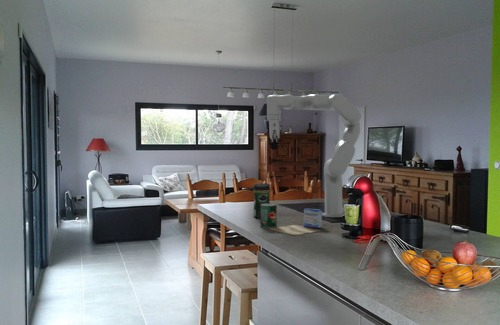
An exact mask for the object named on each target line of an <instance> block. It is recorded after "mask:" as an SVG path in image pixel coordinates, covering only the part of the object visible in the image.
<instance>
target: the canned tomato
mask: <svg viewBox="0 0 500 325" xmlns="http://www.w3.org/2000/svg"><path fill="white" fill-rule="evenodd" d="M277 209H278V208H277V203H273V202H271V203H264V204H261V218H260V228H263V229H270V228H277V227H278V226H277V225H278V221H277V220H278V218H277V216H278V215H277Z"/></svg>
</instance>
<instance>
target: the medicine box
mask: <svg viewBox="0 0 500 325" xmlns="http://www.w3.org/2000/svg"><path fill="white" fill-rule="evenodd" d="M322 213H323V209H319V208H318V209H316V208H304V209H303V221H302V223H303V225H302V226H303V227H307V228H313V229H319V228H322V219H323V216H322Z"/></svg>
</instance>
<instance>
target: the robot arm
mask: <svg viewBox="0 0 500 325" xmlns="http://www.w3.org/2000/svg"><path fill="white" fill-rule="evenodd" d="M281 108H282V109H284V110H289V111H290V110H295V111H297V110H299V111H301V110H303V111H305V110H306V111H336V112H337V113H338V115H340V116H341V120H342V122H343V124H344V130H343V133H342V135H341V137H340V138H339V140H338V142H337V143H336V145H335V147H334V154H333V156H332V158H329V159H328V160H327V161H325V163H324V167H323V175H324V212H322V217H325V218H344V217H345V216H344V213H345V211H344V208H345V207H343V175H344V174H345V173H346V171H347V169H348V167H349V166H350V163H351V162H352V160H353V158H354V156H355V154H356V147H355V145H356V143H357V140H358V139H359V137H360V135H361V134H360V133H361V123H360V121H361V117H362V114H361V112H360V110H359V109H358V108H357V107H356V106H355V105H354V104H353V103H352V102H350V101H349V99H348V98H346V97H345V96H344V95H343V94H341V93H334V94H316V93H314V94H308V95H301V96H299V95H298V96H293V95H291V94H282V95H279V94H271V95H268V96H267V97H266V122H268V125H269V126H268V128H269V138H270V149H271V150H274V151H275V150H278V139H280V122H281V121H282V120H281V119H282V118H281V117H282V116H281V114H282V113H281ZM343 216H344V217H343Z"/></svg>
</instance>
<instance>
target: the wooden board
mask: <svg viewBox="0 0 500 325" xmlns="http://www.w3.org/2000/svg"><path fill="white" fill-rule="evenodd" d="M269 230H270V231H273V232H279V233H281V234H286V235H290V236H293V237H296V236H300V235H301V236H302V235H307V234H313V233H319V232H320V233H321V230H319V229H317V228H313V227H304V226H303V225H298V224H291V225H286V226H280V227H278V226H277V227H275V228H269Z"/></svg>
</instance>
